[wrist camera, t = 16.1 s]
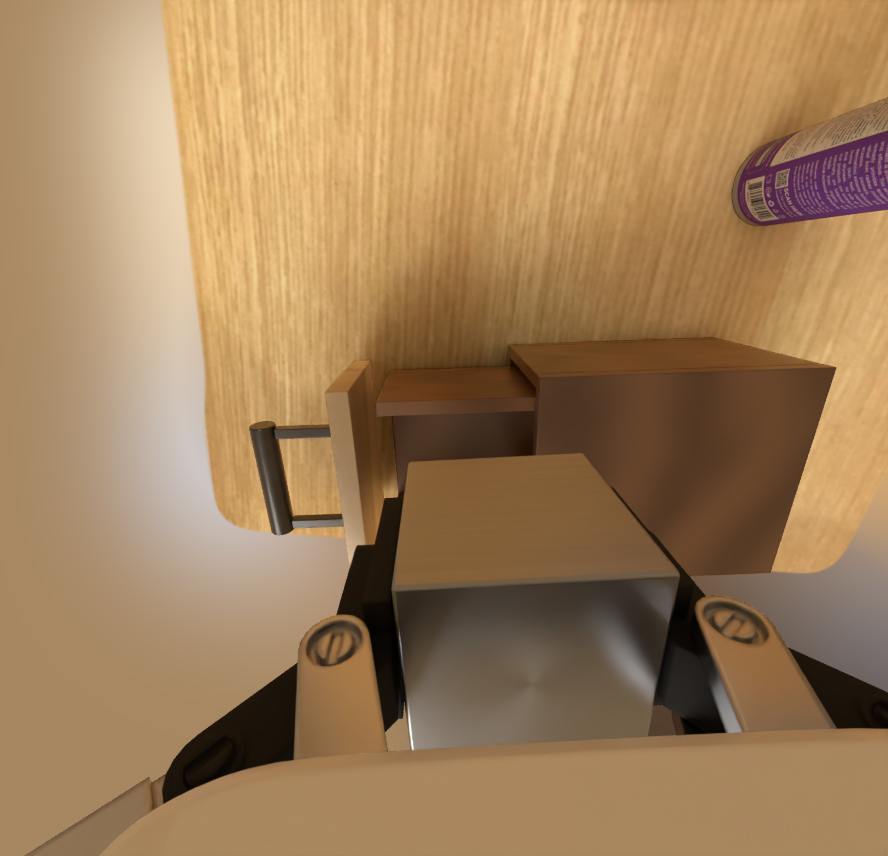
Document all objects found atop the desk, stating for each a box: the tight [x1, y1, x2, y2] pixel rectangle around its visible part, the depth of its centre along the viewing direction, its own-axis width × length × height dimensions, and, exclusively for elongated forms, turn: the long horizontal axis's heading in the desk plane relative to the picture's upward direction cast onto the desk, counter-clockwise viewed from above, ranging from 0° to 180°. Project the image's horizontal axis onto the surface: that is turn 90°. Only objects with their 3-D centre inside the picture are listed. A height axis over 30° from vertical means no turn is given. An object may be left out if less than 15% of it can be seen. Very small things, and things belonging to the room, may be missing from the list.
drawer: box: [249, 360, 536, 566], centre depth 27 cm, size 18×11×8 cm, turn 92°
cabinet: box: [508, 337, 836, 576], centre depth 27 cm, size 15×13×10 cm
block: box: [391, 453, 680, 750], centre depth 10 cm, size 5×5×5 cm
